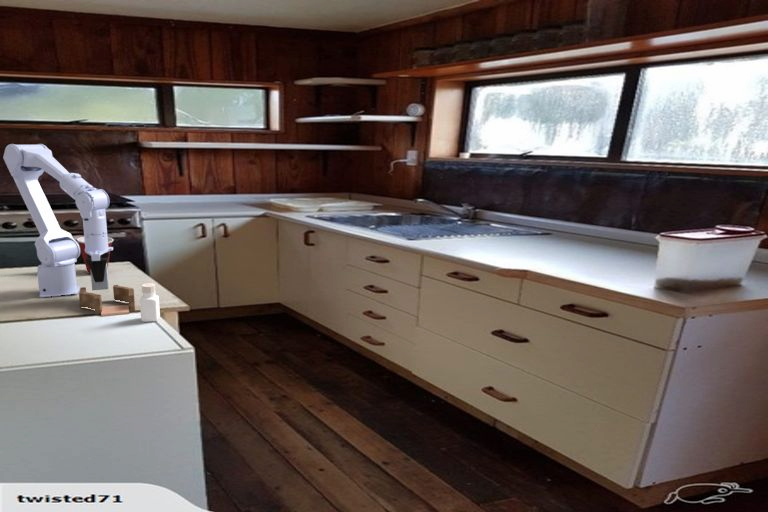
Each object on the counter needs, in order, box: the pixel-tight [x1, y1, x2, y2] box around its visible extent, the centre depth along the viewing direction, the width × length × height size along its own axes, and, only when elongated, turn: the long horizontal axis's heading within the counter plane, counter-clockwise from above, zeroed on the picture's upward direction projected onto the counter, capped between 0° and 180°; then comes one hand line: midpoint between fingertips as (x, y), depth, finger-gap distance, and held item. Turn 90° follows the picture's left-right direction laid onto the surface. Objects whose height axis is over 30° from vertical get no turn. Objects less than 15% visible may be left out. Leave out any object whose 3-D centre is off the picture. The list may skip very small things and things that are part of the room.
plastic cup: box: [76, 236, 115, 275], centre depth 173 cm, size 11×11×12 cm
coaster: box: [100, 304, 130, 317], centre depth 139 cm, size 7×6×1 cm
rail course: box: [78, 284, 136, 315], centre depth 142 cm, size 13×12×4 cm
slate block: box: [90, 263, 110, 291], centre depth 147 cm, size 4×4×8 cm
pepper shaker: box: [139, 282, 161, 323], centre depth 133 cm, size 4×4×10 cm
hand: (99, 279), depth 147 cm, fingers closed on slate block, 4 cm apart
